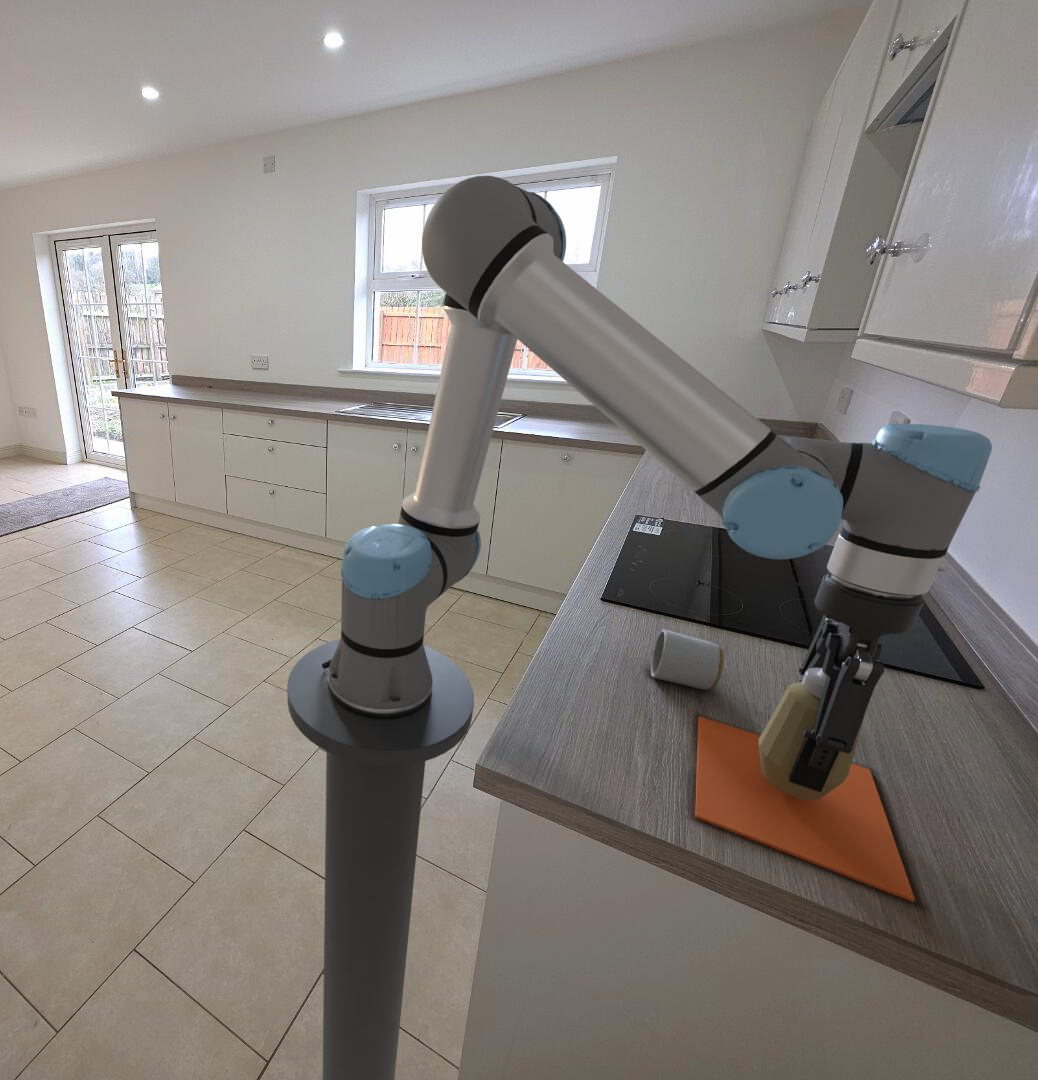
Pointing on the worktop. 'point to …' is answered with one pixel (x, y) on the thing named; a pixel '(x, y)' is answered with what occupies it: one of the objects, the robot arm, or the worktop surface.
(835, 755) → the robot arm
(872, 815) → the napkin
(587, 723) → the worktop surface
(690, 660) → the ceramic mug
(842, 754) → the squeeze bottle
